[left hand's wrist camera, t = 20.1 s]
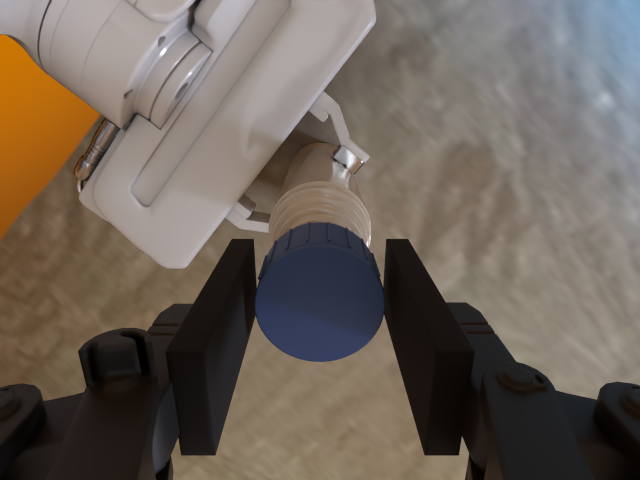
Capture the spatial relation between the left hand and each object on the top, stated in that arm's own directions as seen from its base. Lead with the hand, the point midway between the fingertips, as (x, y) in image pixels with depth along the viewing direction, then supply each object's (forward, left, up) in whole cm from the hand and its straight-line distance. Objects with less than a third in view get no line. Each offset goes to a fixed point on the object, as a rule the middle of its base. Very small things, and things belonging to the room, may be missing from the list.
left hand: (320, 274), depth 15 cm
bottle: (0, 0, -19) cm, 19 cm away
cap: (0, 0, +2) cm, 2 cm away
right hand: (0, +1, -12) cm, 12 cm away
